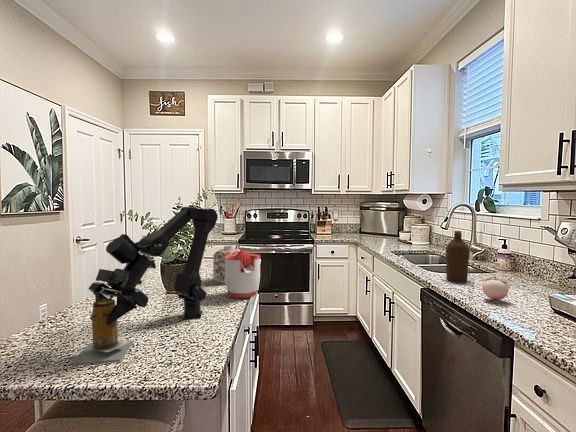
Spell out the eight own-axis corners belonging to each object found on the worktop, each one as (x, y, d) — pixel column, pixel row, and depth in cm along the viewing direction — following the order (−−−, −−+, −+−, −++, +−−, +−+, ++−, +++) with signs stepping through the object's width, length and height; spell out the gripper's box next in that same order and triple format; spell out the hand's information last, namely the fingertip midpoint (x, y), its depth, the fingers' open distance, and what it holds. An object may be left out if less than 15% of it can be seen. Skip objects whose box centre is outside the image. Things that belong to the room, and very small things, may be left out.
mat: (90, 344, 97) (90, 342, 97) (134, 341, 99) (134, 340, 99) (69, 364, 85) (69, 363, 85) (120, 361, 87) (120, 359, 87)
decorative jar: (212, 281, 170) (212, 245, 169) (230, 277, 179) (230, 243, 178) (228, 285, 162) (227, 248, 162) (246, 280, 171) (245, 245, 170)
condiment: (108, 337, 97) (106, 296, 96) (130, 342, 93) (128, 299, 93) (84, 348, 90) (82, 304, 89) (106, 353, 87) (104, 307, 86)
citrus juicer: (230, 303, 134) (230, 253, 133) (220, 292, 150) (220, 247, 149) (267, 298, 141) (267, 251, 139) (254, 288, 156) (254, 245, 155)
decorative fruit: (482, 302, 135) (482, 277, 134) (481, 296, 142) (482, 273, 142) (510, 305, 131) (510, 280, 130) (507, 299, 138) (508, 275, 137)
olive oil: (473, 282, 167) (474, 231, 165) (454, 283, 165) (455, 232, 164) (459, 277, 177) (460, 229, 176) (440, 278, 175) (441, 230, 174)
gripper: (93, 254, 98) (55, 302, 89) (138, 259, 90) (100, 313, 81) (118, 275, 106) (85, 321, 97) (162, 281, 98) (130, 333, 88)
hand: (99, 322), depth 90 cm, fingers closed on condiment, 6 cm apart
